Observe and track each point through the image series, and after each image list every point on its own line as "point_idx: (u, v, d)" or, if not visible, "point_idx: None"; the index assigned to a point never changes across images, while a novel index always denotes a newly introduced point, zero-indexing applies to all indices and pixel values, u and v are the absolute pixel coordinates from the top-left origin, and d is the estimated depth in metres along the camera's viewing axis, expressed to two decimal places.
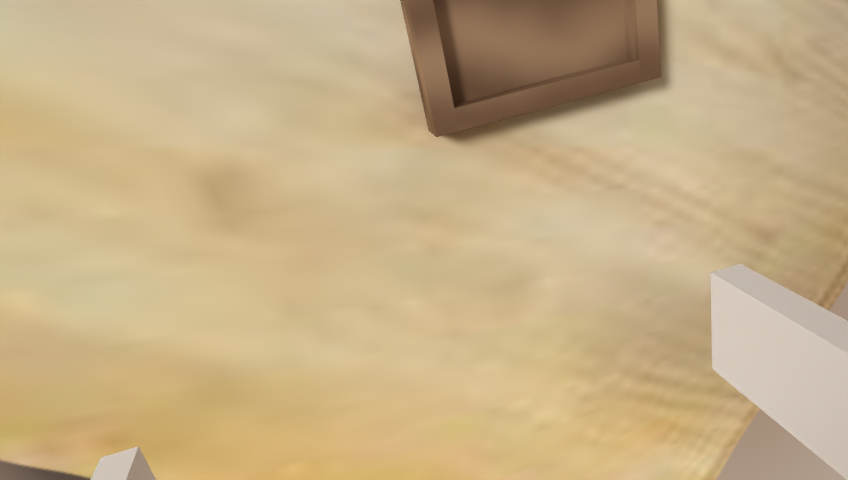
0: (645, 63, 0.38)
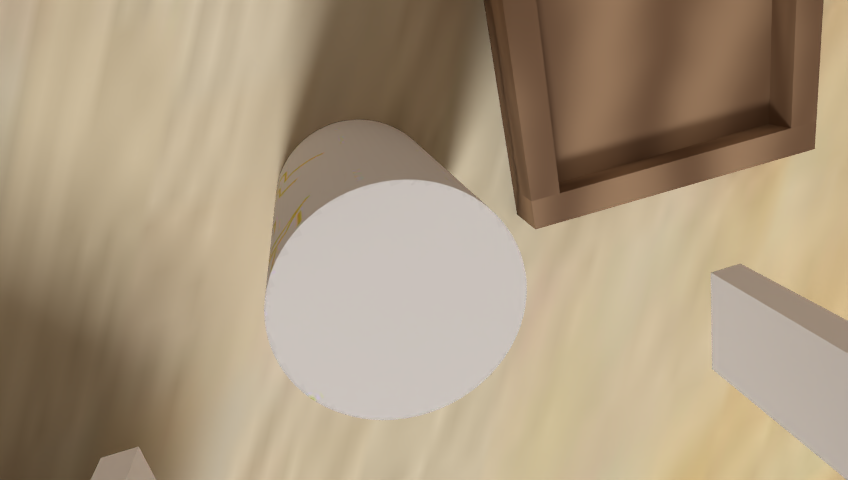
0: None
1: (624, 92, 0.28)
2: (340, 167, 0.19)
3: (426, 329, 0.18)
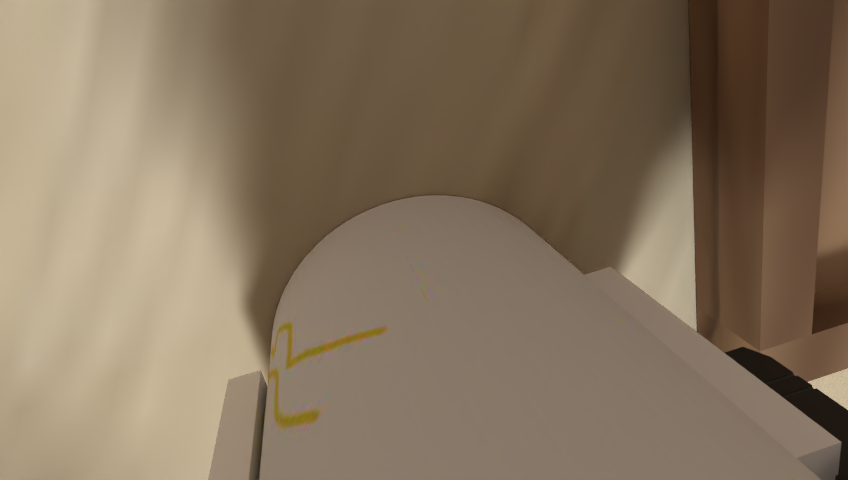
0: None
1: None
2: None
3: None
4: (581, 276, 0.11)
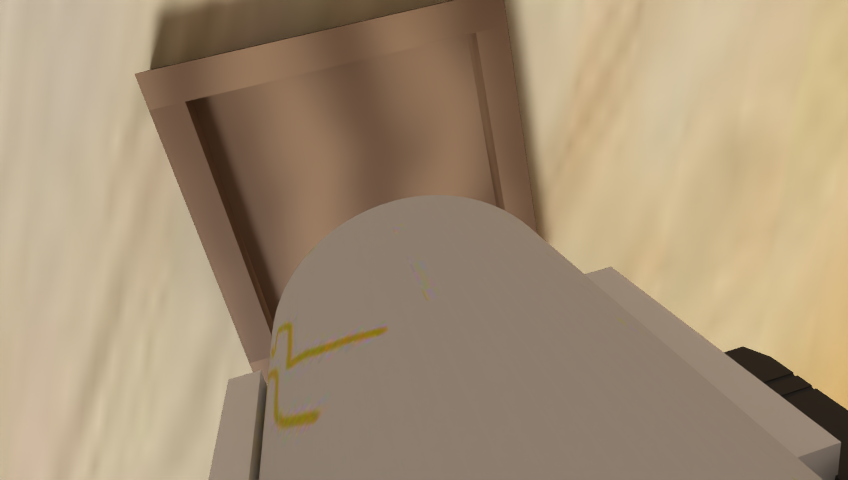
0: (481, 20, 0.25)
1: None
2: None
3: None
4: (582, 276, 0.11)
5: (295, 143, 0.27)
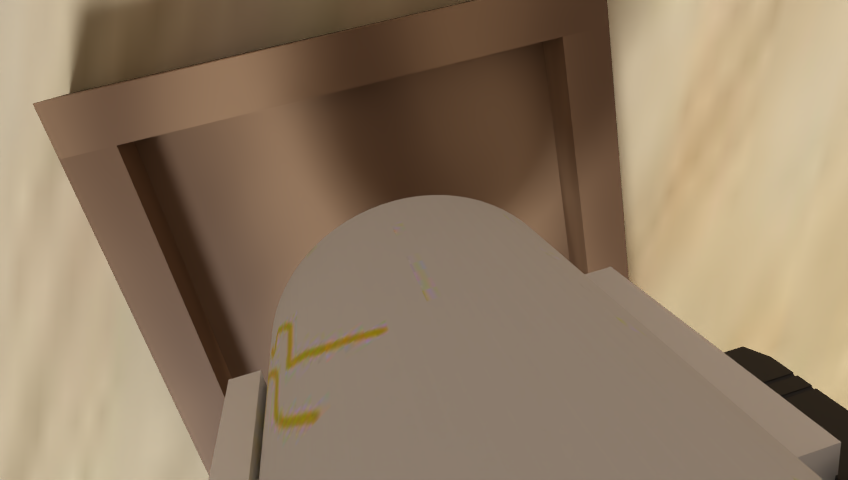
0: (571, 19, 0.17)
1: None
2: None
3: None
4: (582, 276, 0.11)
5: (290, 199, 0.18)
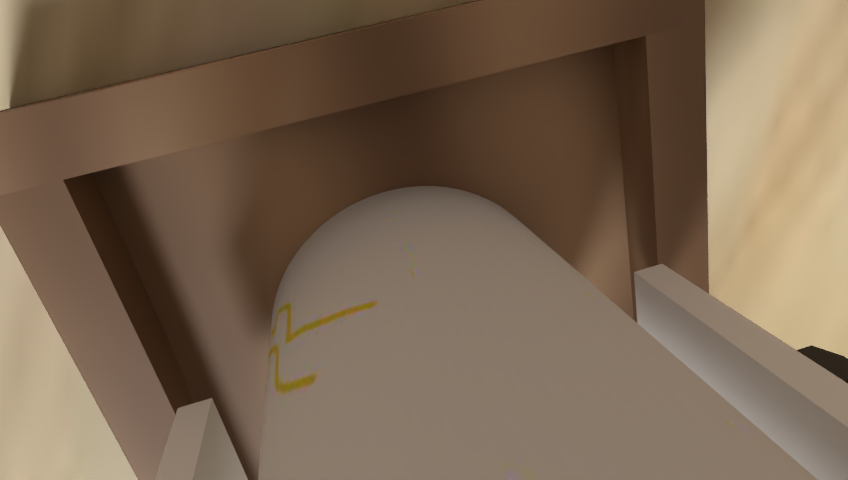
0: (658, 13, 0.13)
1: None
2: (450, 422, 0.06)
3: None
4: (558, 258, 0.12)
5: (293, 241, 0.14)
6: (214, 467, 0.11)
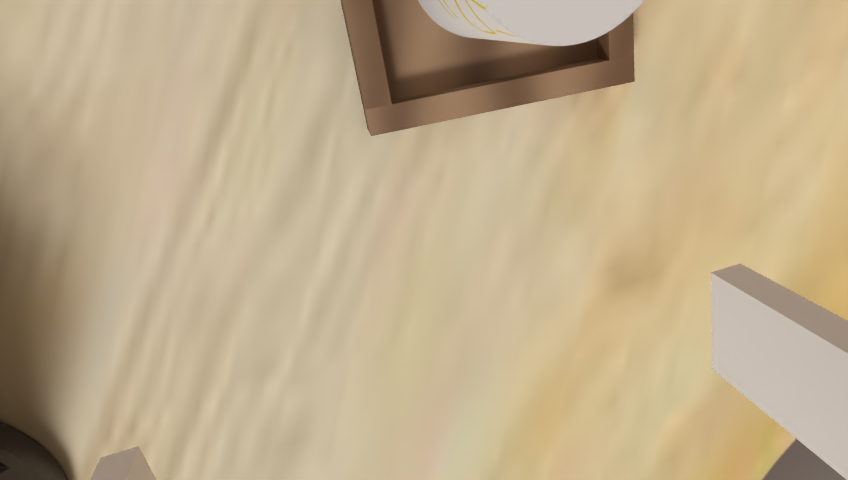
0: None
1: None
2: None
3: None
4: None
5: None
6: None
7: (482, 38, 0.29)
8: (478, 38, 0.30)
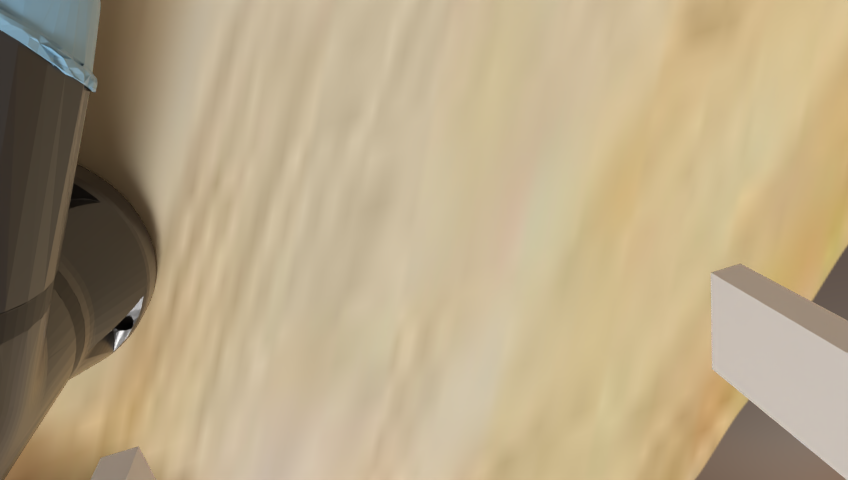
0: None
1: None
2: None
3: None
4: None
5: None
6: None
7: None
8: None
